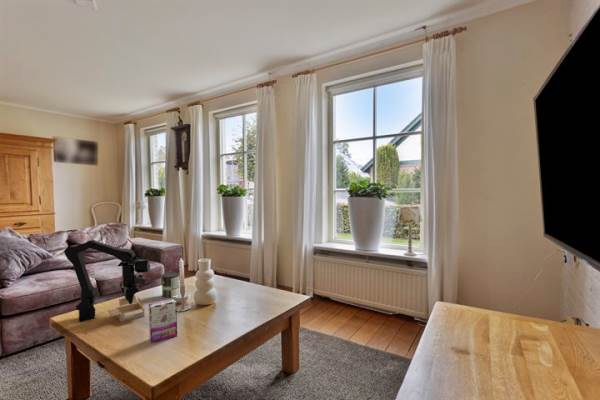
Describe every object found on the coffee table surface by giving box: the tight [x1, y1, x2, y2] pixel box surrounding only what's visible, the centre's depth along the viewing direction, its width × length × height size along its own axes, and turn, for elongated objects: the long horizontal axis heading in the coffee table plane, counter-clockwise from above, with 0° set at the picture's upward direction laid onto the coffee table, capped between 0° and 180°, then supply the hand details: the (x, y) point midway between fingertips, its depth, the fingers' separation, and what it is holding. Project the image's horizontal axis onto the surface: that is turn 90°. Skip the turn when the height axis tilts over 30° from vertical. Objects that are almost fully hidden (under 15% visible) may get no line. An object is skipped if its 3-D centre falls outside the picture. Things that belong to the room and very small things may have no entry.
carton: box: [107, 302, 145, 323], centre depth 153 cm, size 15×15×4 cm
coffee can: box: [161, 271, 180, 300], centre depth 185 cm, size 10×10×14 cm
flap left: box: [118, 295, 137, 307], centre depth 160 cm, size 8×1×4 cm, turn 132°
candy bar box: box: [148, 298, 178, 344], centre depth 133 cm, size 11×5×16 cm, turn 126°
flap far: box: [137, 296, 145, 308], centre depth 159 cm, size 1×8×4 cm, turn 41°
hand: (129, 302), depth 157 cm, fingers open, 7 cm apart
